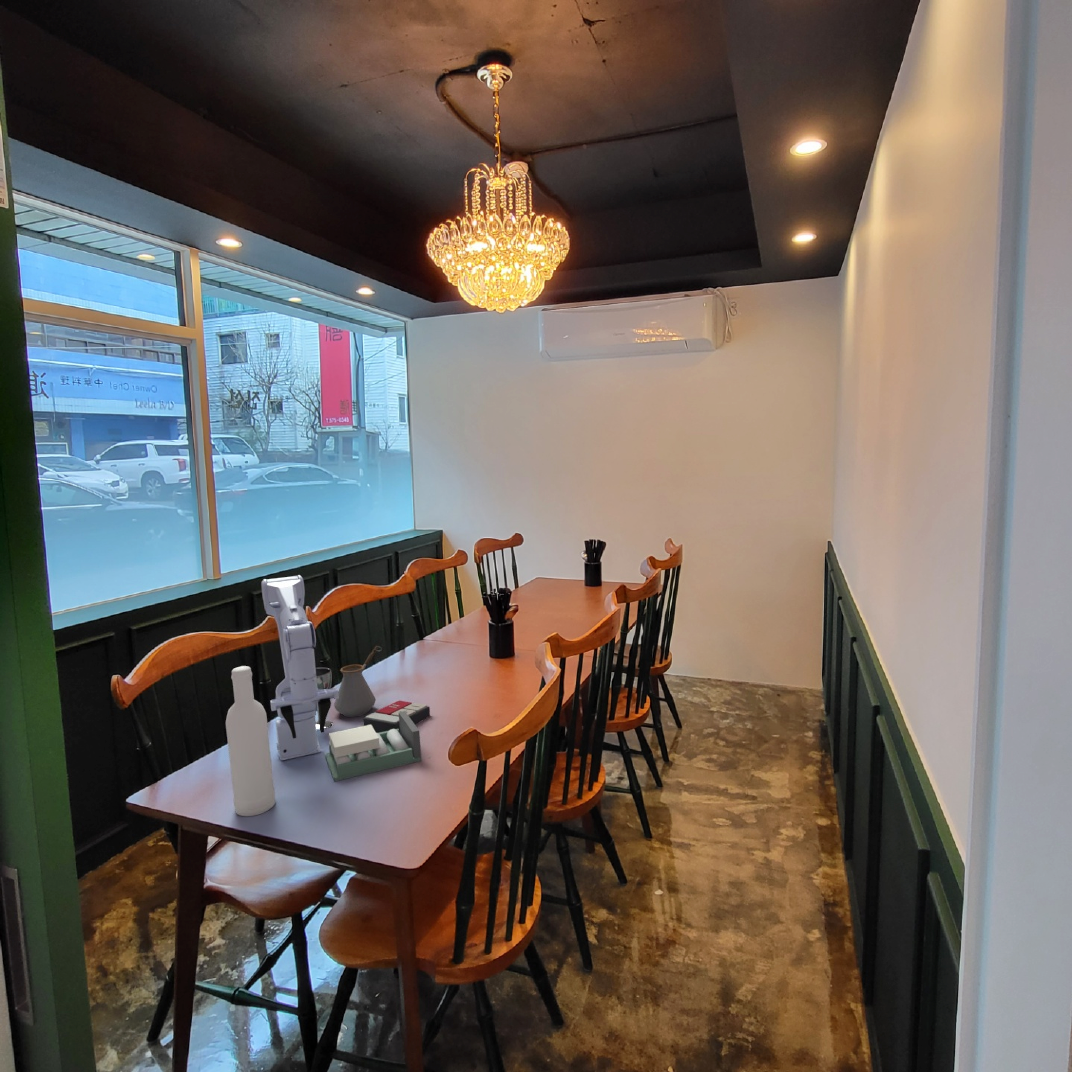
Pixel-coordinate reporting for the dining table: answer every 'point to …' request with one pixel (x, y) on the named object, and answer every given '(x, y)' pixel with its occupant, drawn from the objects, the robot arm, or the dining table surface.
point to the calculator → (396, 715)
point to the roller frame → (380, 752)
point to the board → (354, 740)
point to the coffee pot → (355, 691)
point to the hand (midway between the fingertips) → (308, 733)
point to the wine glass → (323, 687)
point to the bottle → (249, 748)
